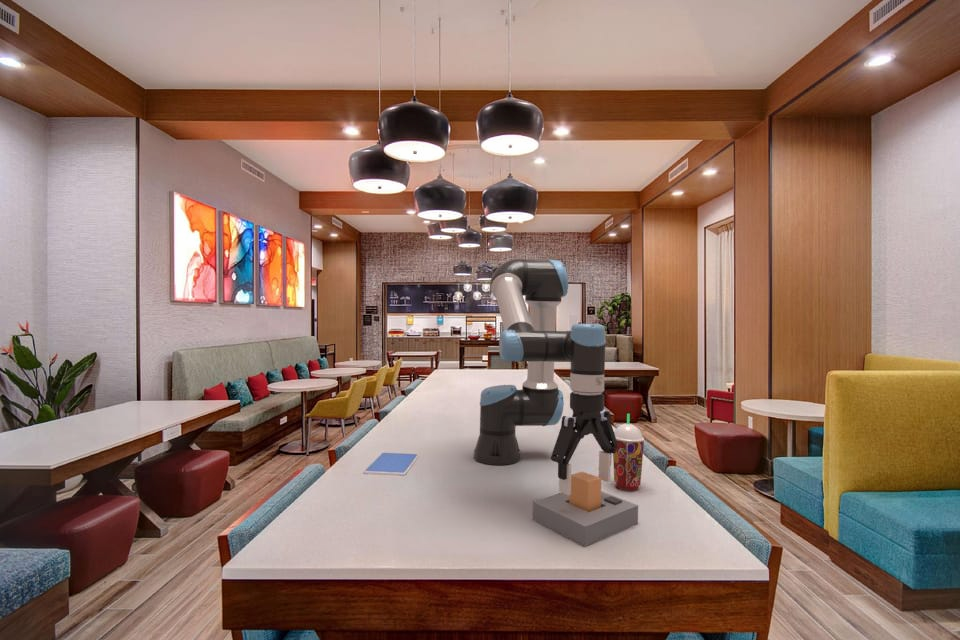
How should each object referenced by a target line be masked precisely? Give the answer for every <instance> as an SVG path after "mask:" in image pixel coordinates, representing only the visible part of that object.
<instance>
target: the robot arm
mask: <svg viewBox="0 0 960 640" xmlns="http://www.w3.org/2000/svg"><path fill="white" fill-rule="evenodd" d="M566 268H567V267H566V266H565V264H564V263H563V262H562V261H560V260H554V259H532V258H529V259H528V258H526V259H525V258H513V259H511V260H508V261H504V262H503V263H502V264H500V265H499V266H498V267H497V268H496V269H495V271H494V272H493V273H492V276H491V279H490V284H489V285H490V291H491V294H492V296H493V297H494V298H495V299H496V302H497V306H498V310H499V314H500V318H501V323H502V326H503V330H502V331H501V332H500V334H499V339H498V349H499V357H500V359H501V360H503V361H505V362H506V361H507V362H514V363H519V362H522V363H523V362H526V363H527V377H526V378H527V379H526V380H525V381H524V382H522V389H517V386H516V385H515V384H501V385H500V384H499V385H493V386H489V387H485V388H484V389H482V391H481V392H480V398H479V399H480V401H479V406H480V408H479V409H480V410H479V411H480V413H479V435H478V438H477V441H476V446H475V448H474V451H473V458H474V460H475V461H477V462H478V463H482V464H486V465H493V466H503V465H504V466H505V465H512V464H515V463H518V462H519V461H521V450H520V447H519V442H518V440H517V436H516V435H517V434H516V428H517V427H528V426H529V427H536V426H539V427H540V426H542V427H545V426H547V427H548V426H556V425H557V424H558V423H559V422H560V421H561V425H560V429H559V431H558V436H557V439H556V441H555V444H554V447H553V450H552V452H551V455H550V460H551V461H552V462H555V463H557V478H558V482H559V483H558V492H559V493H564V494H566V495H568V496H569V495H571V475H572V464H571V463H570V461H571V459H572V457H573V456H574V453H575V451H576V450H577V447H578V446H579V443H581V442H580V441H581V440H582V439H584V437H586V436H588V435H592V436H593V437H594V439H595V440H596V442H597V444H598V446H599V447H600V448H601V450H600V451H599V452H598V477H599V478H601V481H603V482H606V483H610V482H611V471H612V470H611V466H612V455H613V454H615V453H616V449H617V448H618V444H617V440H616V437H615V434H614V432H615V430H614V427H613V426H612V422H611V414H610V411H608V410H605V394H603V392H605V372H606V371H605V368H606V367H605V366H606V343H607V339H606V328H605V326H604V325H602V324H599V323H598V324H597V323H574V324H572V325H571V330H563V331H562V330H556V324H557V323H556V321H557V307H558V306H559V305H560V304H561V303H562V298H564V297H566V296H567V294H568V290H569V276H568V272H567V269H566ZM524 297H525V298H524ZM526 304H527V305H528V306H529V311H528V307H527V305H526ZM555 362H559V363H560V362H564V363H567V362H568V363H569V362H570V374H569V375H570V376H569V377H570V378H569V389H570V391H571V392H570V393H569V408H570V409H571V410H572V415H571V416H566V415H563V411H564V405H565V404H564V401H565V400H564V393H563V391H562V390H561V389H559V385H558V383H556V382H555V380H554V378H555ZM562 415H563V416H562Z"/></svg>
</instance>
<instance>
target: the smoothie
mask: <svg viewBox="0 0 960 640" xmlns="http://www.w3.org/2000/svg"><path fill="white" fill-rule="evenodd" d="M630 415H631V414H630V413H627V414H626V423H622V424H620V425H618V426H617V427H616V428H615V429H614V434H615V437H616V440H617V444H618V448H617V449H616V453H615V454H613V453H612V459H613V463H612V464H613V479H614V483H615V485H616V488H618V489H620V490H623V491H627V492H628V491H629V492H631V491H633V492H634V491H637V490H639V486H641V480H642V470H643V468H642V467H643V458H644V457H643V456H644V446H645V445H644V444H645V438H644V436H643V434H642V432H641V430H640V429H639V428H638V427H637V426H636V425H634V424H632V423H630V421H631V419H630V418H631V417H630Z"/></svg>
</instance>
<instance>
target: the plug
mask: <svg viewBox="0 0 960 640" xmlns="http://www.w3.org/2000/svg"><path fill="white" fill-rule="evenodd" d="M601 491H602V480H601V478H599V476H596V475H593V474H591V473H587V472H584V471H580V472H579V471H578V472H575V473H571V495H569V504H572V505H574V506H576V507H578V508H581V509H583V510H585V511H587V512H591V511H594V510H596V509H599V508H601Z"/></svg>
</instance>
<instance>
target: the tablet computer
mask: <svg viewBox="0 0 960 640" xmlns="http://www.w3.org/2000/svg"><path fill="white" fill-rule="evenodd" d="M419 457H420V454H417V453H405V452H404V453H403V452H402V453H401V452H399V453H398V452H397V453H396V452H381V454H380V455H378V456H377V457H376V458H375V460H374V461H372V462H371V464H369V465H368V466H367V467H366V468H365V469H364V470H363V474H364V475H378V476H380V475H381V476H400V477H401V476H405V475H406V474H407V473H408V471H410V470H411V467H412V466H413V465H414V463H415V462H416V461H417V460H418V458H419Z"/></svg>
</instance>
